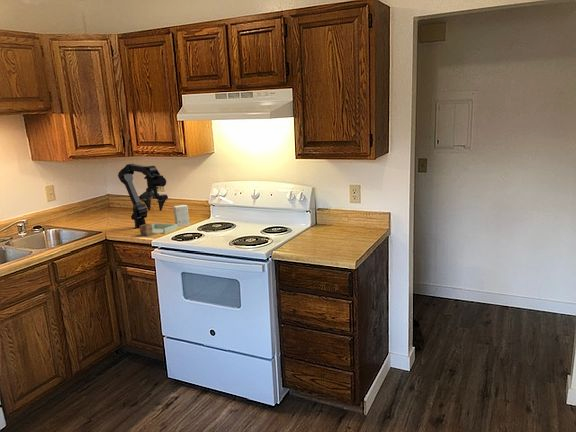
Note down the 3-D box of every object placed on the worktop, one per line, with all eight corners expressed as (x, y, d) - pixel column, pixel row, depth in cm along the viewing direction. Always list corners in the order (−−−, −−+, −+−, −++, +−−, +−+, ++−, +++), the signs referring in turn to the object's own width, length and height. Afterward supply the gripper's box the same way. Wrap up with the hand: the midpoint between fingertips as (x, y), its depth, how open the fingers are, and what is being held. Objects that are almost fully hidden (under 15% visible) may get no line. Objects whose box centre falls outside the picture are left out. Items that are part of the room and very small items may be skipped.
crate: (142, 232, 294) (141, 227, 294) (155, 227, 305) (154, 223, 304) (165, 233, 286) (164, 228, 286) (178, 229, 297) (177, 224, 296)
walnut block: (140, 235, 284) (139, 225, 283) (146, 233, 288) (145, 224, 287) (147, 235, 282) (146, 226, 281) (152, 233, 286) (151, 224, 285)
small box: (187, 223, 312) (185, 204, 309) (189, 225, 306) (187, 205, 304) (175, 225, 309) (173, 206, 306) (177, 227, 303) (175, 207, 300)
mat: (135, 236, 283) (135, 236, 283) (145, 233, 291) (145, 232, 291) (148, 237, 279) (148, 237, 279) (158, 234, 287) (158, 233, 287)
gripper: (131, 187, 290) (134, 212, 294) (154, 188, 282) (157, 213, 285) (144, 185, 300) (147, 209, 303) (167, 185, 292) (169, 210, 295)
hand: (155, 210), depth 296 cm, fingers open, 9 cm apart
